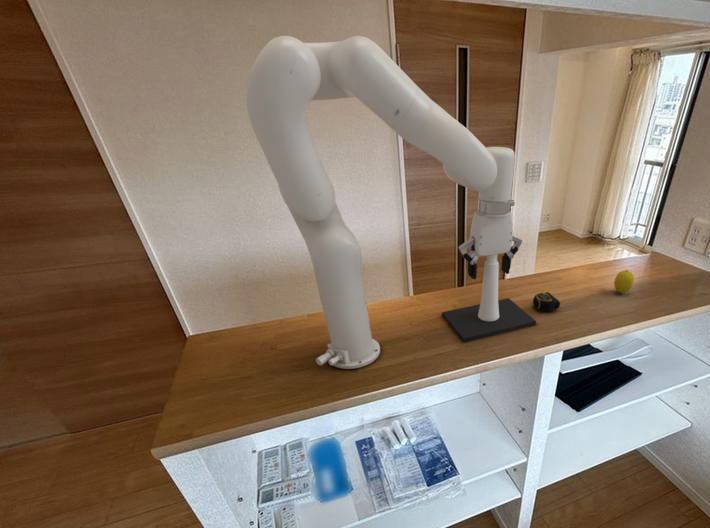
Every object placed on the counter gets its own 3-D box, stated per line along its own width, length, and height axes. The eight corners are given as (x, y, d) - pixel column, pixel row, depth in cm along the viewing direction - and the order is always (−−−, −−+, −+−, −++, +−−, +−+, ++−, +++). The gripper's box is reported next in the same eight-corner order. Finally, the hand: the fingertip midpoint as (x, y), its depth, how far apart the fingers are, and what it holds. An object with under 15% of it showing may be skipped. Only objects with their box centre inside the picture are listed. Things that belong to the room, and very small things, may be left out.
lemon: (633, 294, 118) (640, 270, 114) (622, 298, 116) (629, 275, 111) (618, 287, 122) (625, 265, 118) (607, 292, 120) (614, 268, 115)
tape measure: (559, 311, 109) (562, 300, 107) (539, 315, 107) (540, 303, 105) (548, 301, 114) (550, 290, 112) (528, 304, 112) (529, 293, 110)
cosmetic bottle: (501, 312, 106) (507, 236, 93) (496, 323, 101) (502, 244, 88) (481, 309, 107) (484, 234, 95) (475, 319, 102) (477, 241, 90)
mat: (463, 342, 95) (463, 338, 95) (442, 315, 106) (441, 312, 106) (535, 324, 103) (536, 321, 102) (508, 301, 114) (508, 297, 113)
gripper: (517, 200, 93) (510, 265, 102) (454, 205, 87) (452, 273, 96) (533, 207, 87) (524, 275, 97) (467, 213, 81) (464, 285, 91)
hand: (489, 274), depth 96 cm, fingers open, 9 cm apart
